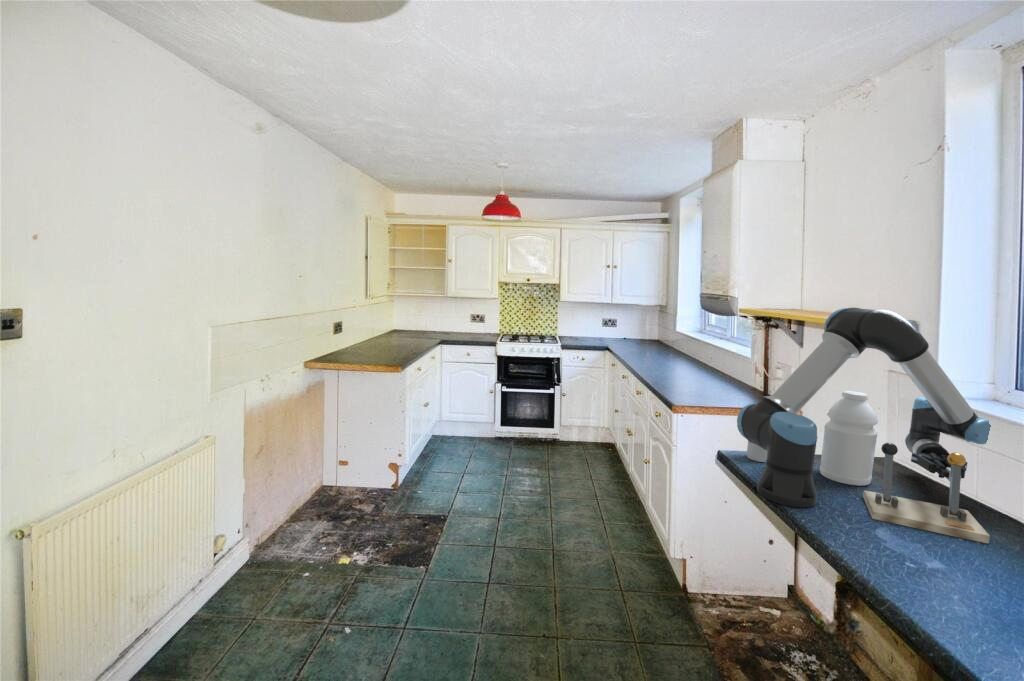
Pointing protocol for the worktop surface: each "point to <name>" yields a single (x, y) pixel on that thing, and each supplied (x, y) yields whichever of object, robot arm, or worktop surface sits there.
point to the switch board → (925, 516)
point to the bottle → (849, 440)
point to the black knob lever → (888, 469)
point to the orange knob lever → (955, 481)
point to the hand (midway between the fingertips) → (956, 480)
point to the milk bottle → (756, 452)
